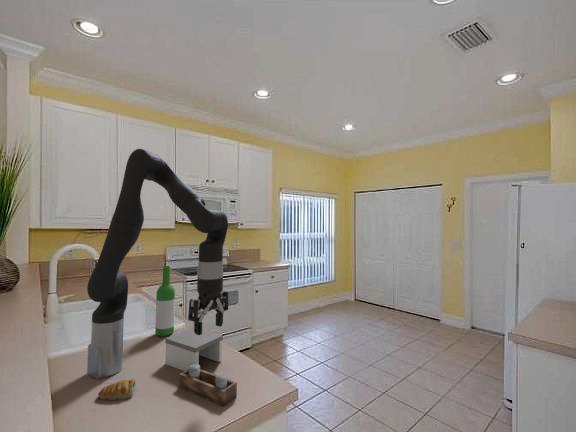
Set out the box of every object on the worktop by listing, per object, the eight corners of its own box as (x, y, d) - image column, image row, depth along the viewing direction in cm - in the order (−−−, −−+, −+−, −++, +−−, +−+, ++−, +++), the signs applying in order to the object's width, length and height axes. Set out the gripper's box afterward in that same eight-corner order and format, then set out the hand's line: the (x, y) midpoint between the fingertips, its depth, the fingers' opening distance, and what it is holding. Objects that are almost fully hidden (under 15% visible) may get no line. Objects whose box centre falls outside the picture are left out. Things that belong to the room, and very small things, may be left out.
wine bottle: (169, 329, 140) (171, 264, 140) (176, 333, 134) (178, 266, 135) (152, 333, 134) (154, 266, 135) (159, 338, 129) (161, 268, 129)
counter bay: (194, 375, 99) (195, 348, 99) (164, 364, 106) (165, 338, 106) (222, 360, 110) (222, 335, 110) (193, 350, 118) (193, 327, 118)
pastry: (95, 405, 83) (96, 391, 83) (101, 392, 89) (101, 379, 89) (133, 398, 86) (134, 385, 86) (136, 386, 92) (136, 374, 92)
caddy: (236, 396, 88) (237, 375, 88) (223, 406, 83) (223, 384, 83) (192, 379, 97) (193, 360, 97) (178, 387, 92) (179, 367, 92)
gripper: (201, 281, 83) (200, 340, 82) (235, 273, 95) (234, 325, 95) (182, 278, 86) (181, 335, 86) (217, 271, 99) (216, 321, 98)
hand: (209, 330), depth 90 cm, fingers open, 8 cm apart
